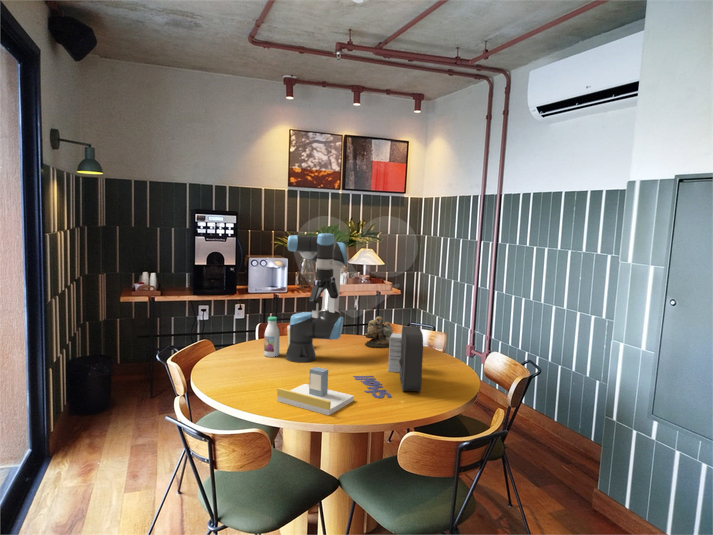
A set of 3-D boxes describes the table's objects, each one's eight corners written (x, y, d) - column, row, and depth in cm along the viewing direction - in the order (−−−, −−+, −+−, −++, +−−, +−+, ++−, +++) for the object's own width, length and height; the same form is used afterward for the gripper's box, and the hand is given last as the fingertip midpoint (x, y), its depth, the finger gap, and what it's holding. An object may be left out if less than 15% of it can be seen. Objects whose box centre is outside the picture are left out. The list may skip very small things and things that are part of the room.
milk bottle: (273, 352, 256) (274, 315, 254) (282, 355, 251) (283, 317, 249) (261, 354, 251) (261, 316, 249) (269, 358, 245) (270, 319, 243)
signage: (393, 396, 197) (369, 398, 194) (393, 398, 197) (369, 399, 194) (373, 374, 224) (352, 375, 221) (373, 376, 224) (352, 377, 221)
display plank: (277, 401, 188) (277, 388, 187) (304, 388, 203) (304, 376, 203) (328, 415, 176) (329, 402, 176) (353, 400, 192) (354, 388, 191)
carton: (308, 394, 191) (309, 369, 190) (314, 391, 195) (315, 366, 194) (321, 397, 188) (322, 372, 187) (327, 394, 192) (328, 369, 191)
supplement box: (407, 373, 229) (408, 338, 227) (387, 371, 231) (389, 337, 229) (409, 367, 238) (410, 334, 237) (390, 366, 240) (391, 332, 239)
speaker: (420, 395, 200) (423, 336, 198) (399, 394, 200) (402, 335, 198) (415, 376, 225) (417, 323, 222) (396, 375, 225) (399, 322, 223)
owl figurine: (367, 349, 271) (368, 319, 269) (360, 344, 282) (361, 315, 281) (397, 347, 276) (398, 318, 275) (389, 342, 287) (390, 314, 286)
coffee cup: (296, 350, 262) (297, 328, 260) (283, 347, 266) (283, 326, 265) (307, 347, 269) (307, 326, 268) (293, 344, 274) (294, 323, 273)
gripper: (315, 271, 203) (314, 321, 206) (346, 266, 224) (345, 311, 227) (301, 270, 207) (300, 318, 209) (333, 264, 228) (331, 309, 231)
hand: (323, 314), depth 218 cm, fingers open, 13 cm apart
